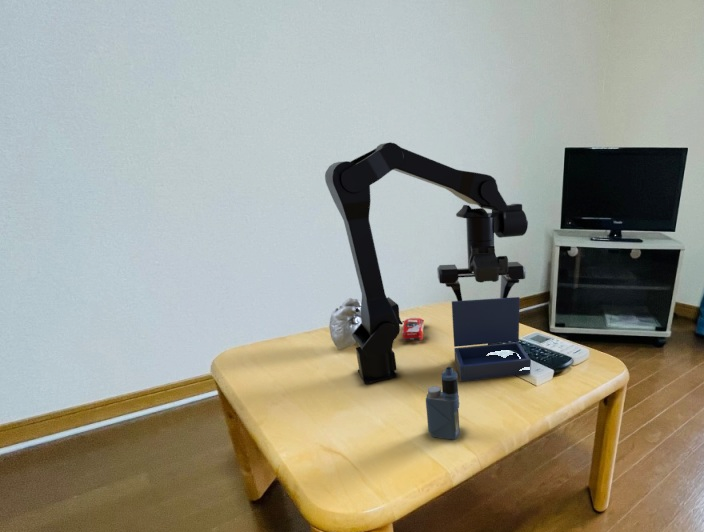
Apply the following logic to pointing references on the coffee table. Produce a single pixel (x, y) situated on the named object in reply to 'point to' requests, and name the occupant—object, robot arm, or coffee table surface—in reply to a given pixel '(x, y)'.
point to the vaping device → (444, 407)
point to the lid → (485, 321)
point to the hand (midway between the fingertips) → (482, 309)
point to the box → (490, 361)
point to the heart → (345, 323)
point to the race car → (413, 329)
